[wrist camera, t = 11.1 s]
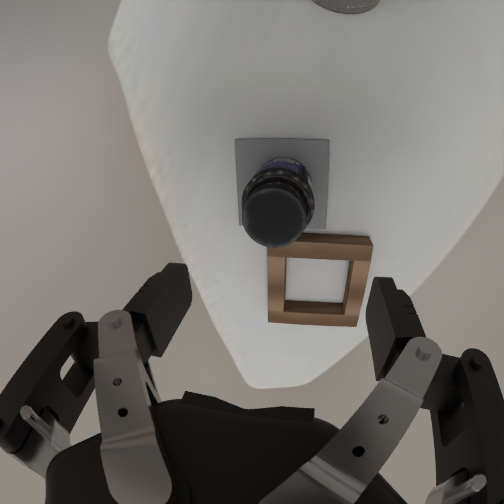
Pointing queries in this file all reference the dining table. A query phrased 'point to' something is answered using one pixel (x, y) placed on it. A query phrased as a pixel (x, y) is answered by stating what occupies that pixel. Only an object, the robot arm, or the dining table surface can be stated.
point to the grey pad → (302, 150)
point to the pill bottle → (278, 203)
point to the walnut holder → (319, 248)
